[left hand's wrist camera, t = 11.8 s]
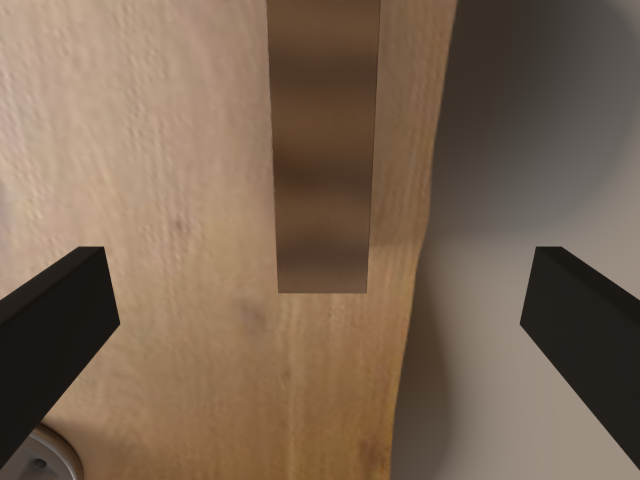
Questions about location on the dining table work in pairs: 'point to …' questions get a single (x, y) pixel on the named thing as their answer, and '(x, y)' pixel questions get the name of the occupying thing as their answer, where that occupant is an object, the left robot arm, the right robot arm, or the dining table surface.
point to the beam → (322, 140)
